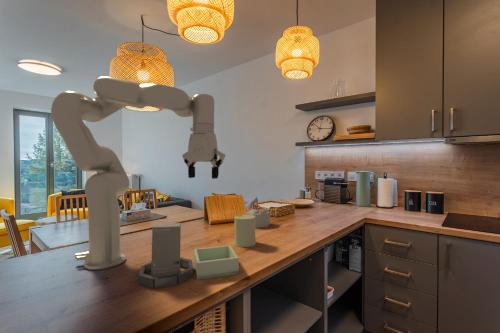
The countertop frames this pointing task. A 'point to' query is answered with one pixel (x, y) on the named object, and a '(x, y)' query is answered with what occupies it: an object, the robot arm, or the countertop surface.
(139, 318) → the countertop surface
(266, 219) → the lumpy-topped squat cylinder
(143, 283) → the socket ring
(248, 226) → the can
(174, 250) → the skincare box
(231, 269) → the bin
